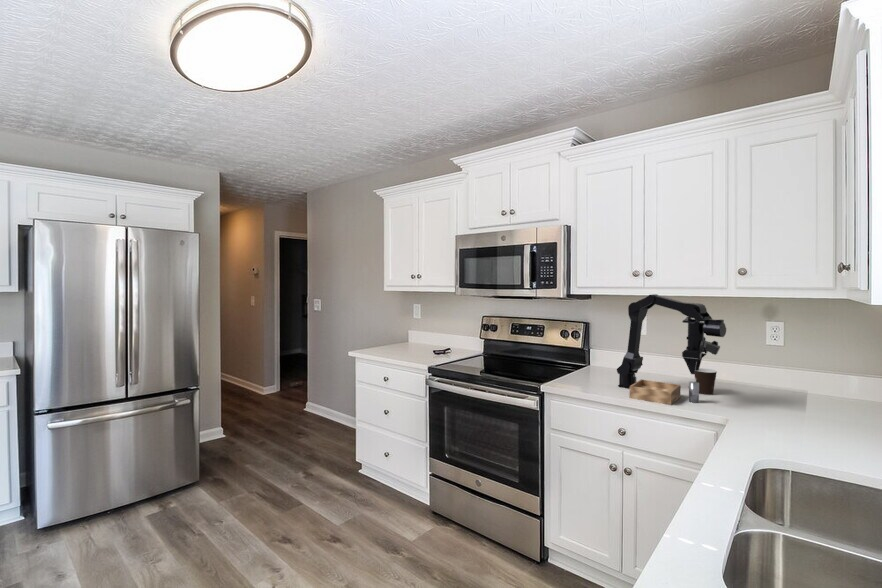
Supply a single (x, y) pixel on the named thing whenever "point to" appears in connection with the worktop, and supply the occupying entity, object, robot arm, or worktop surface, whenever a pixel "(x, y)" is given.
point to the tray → (655, 391)
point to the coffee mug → (705, 380)
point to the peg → (694, 392)
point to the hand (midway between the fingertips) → (694, 372)
